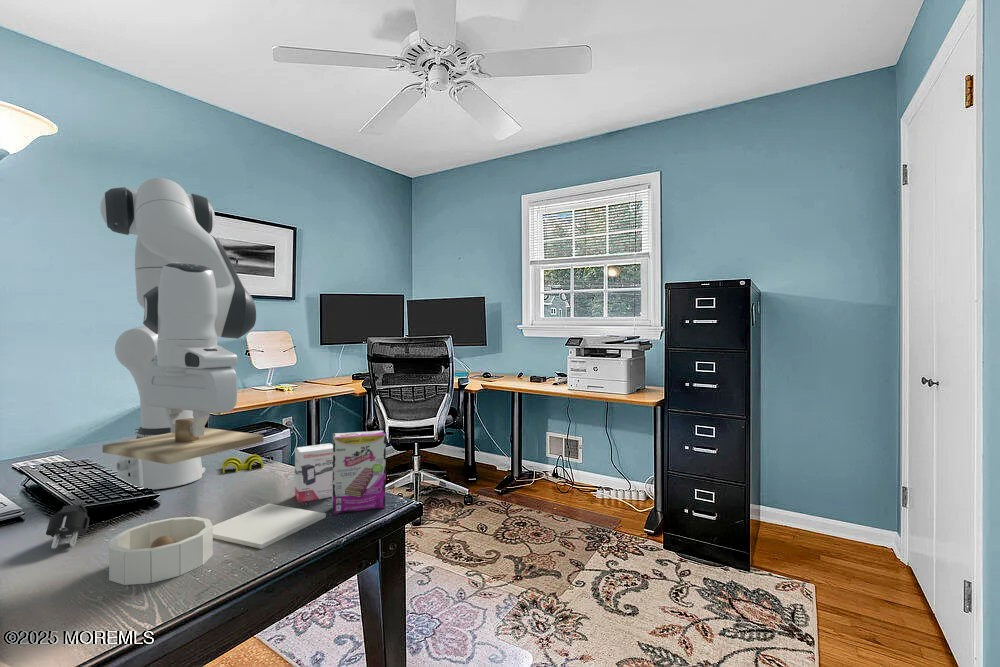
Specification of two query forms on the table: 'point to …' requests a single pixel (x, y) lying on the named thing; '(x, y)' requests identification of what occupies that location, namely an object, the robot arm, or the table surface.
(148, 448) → the lid
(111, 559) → the bowl
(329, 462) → the ink box
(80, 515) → the power plug
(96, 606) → the table surface
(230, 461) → the opera glasses
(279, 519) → the mat
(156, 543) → the walnut
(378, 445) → the candy bar box
